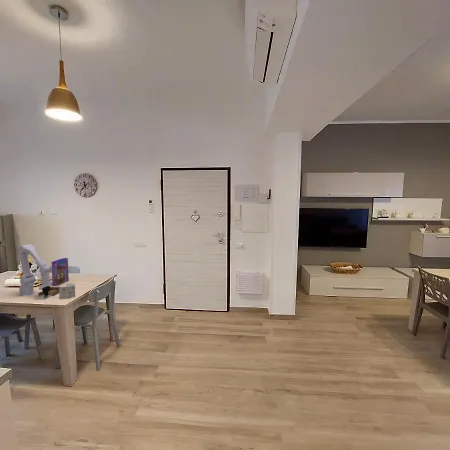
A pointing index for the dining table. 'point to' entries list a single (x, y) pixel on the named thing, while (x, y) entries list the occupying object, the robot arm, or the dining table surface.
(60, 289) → the light bulb box
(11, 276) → the dining table surface
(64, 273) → the cereal box
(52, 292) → the walnut box
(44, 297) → the cover plate
